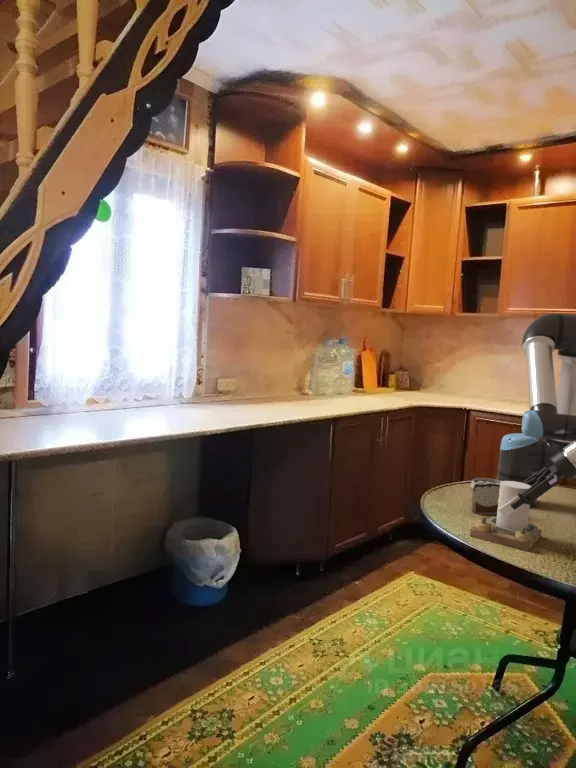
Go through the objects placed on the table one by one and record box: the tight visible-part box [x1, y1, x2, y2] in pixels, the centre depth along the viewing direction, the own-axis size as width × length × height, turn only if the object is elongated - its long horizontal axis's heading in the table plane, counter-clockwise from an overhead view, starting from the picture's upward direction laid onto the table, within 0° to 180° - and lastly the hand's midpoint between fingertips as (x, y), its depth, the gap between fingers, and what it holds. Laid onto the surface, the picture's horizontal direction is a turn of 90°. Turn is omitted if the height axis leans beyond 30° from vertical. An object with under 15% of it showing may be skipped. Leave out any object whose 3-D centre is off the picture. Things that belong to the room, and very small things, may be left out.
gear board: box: [469, 516, 542, 552], centre depth 162 cm, size 16×15×5 cm
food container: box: [469, 477, 501, 515], centre depth 185 cm, size 12×6×10 cm, turn 104°
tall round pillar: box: [496, 481, 531, 531], centre depth 162 cm, size 8×8×12 cm
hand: (501, 509), depth 163 cm, fingers closed on tall round pillar, 8 cm apart
